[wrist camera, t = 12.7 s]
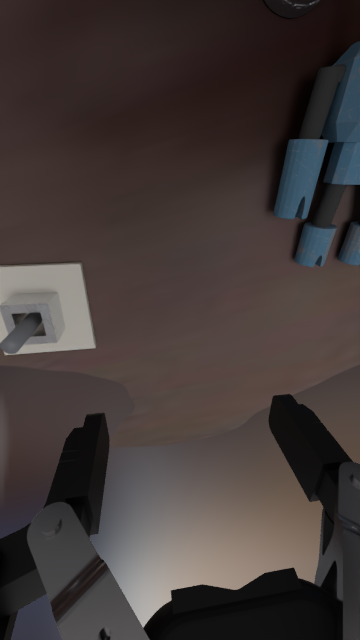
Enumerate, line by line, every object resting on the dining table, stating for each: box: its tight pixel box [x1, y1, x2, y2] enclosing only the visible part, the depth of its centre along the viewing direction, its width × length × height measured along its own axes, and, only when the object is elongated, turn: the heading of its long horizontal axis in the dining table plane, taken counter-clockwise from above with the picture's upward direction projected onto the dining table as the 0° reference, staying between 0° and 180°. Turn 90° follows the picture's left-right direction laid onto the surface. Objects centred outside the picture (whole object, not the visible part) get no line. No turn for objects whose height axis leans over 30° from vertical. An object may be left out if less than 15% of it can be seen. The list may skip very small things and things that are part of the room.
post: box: [0, 262, 96, 355], centre depth 35 cm, size 14×14×11 cm
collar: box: [0, 292, 66, 345], centre depth 37 cm, size 6×6×4 cm
